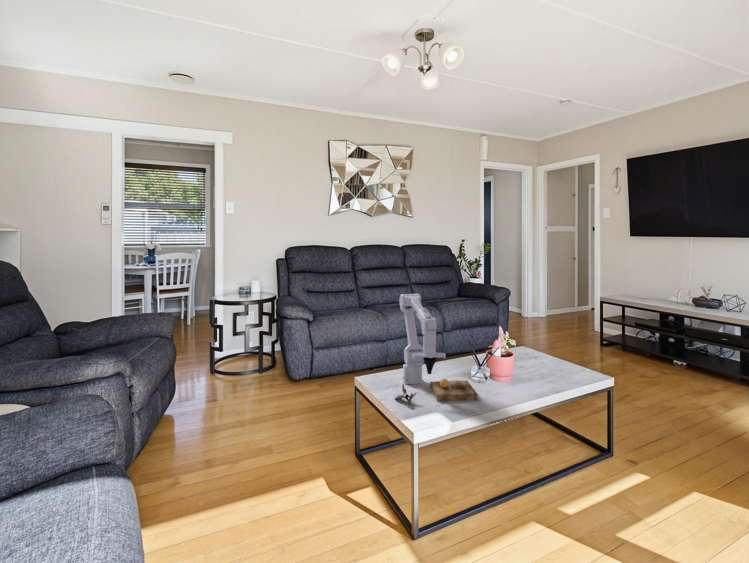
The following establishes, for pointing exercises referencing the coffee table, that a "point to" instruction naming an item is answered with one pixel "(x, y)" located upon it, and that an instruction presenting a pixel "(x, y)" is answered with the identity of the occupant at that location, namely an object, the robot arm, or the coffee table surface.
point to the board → (453, 391)
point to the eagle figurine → (405, 395)
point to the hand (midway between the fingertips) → (429, 373)
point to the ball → (444, 383)
